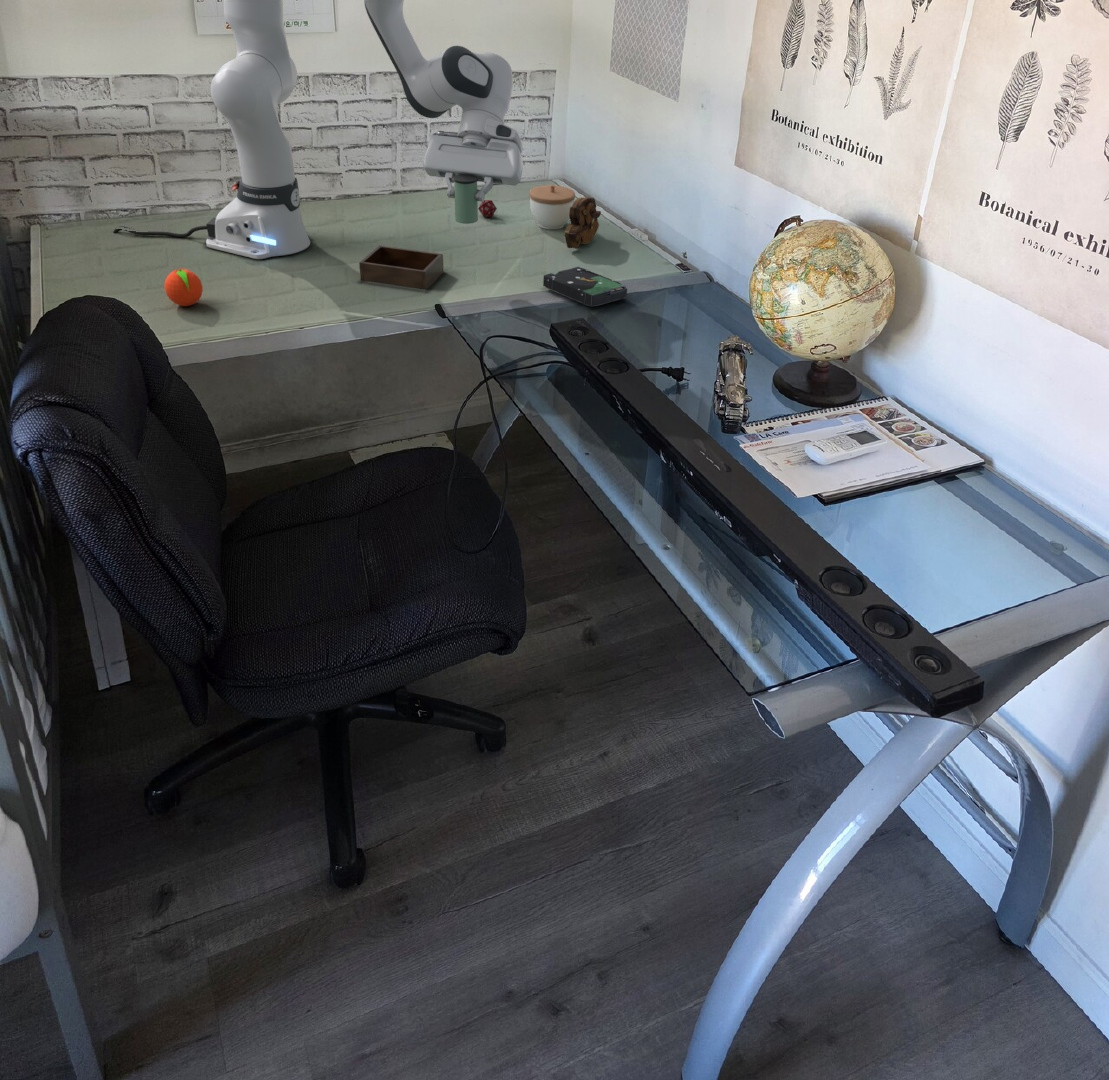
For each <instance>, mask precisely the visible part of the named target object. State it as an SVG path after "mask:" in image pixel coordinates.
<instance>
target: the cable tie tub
mask: <svg viewBox="0 0 1109 1080" xmlns="http://www.w3.org/2000/svg"><path fill="white" fill-rule="evenodd" d="M478 182H479V181H478V178H477V176H475V175H471V174H460V175H456V176H454V183H453V187H454V194H455V198H454V215H455V216H454V220H455V222H456V223H459V224H464V225H470V224H474V223H477V222H478V221H479V212H478V211H479V209H478V208H479V206H478V205H479V204H478V202H479V201H476V199H475V194H476V190H477V189H478Z"/></svg>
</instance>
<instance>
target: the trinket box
mask: <svg viewBox="0 0 1109 1080" xmlns="http://www.w3.org/2000/svg"><path fill="white" fill-rule="evenodd" d="M575 200H576V192H575V191H574V190H573V189H571V188H569V187H566V186H561V185H555V184H549V185H547V184H546V185H539V186H536V187H533V188H531V189H530V190H529V207H530V208H529V209H530V213H531V216H532V218H533V220H534V221H535V223H537V224H538V226H539V227H540V228H541V229H545V230H560V229H562V228H564V226H565V225H566V224H567V223H568V222H569V221H570V218H569V213H570V207H572V205H573V203H574V202H575Z"/></svg>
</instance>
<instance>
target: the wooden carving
mask: <svg viewBox="0 0 1109 1080" xmlns="http://www.w3.org/2000/svg"><path fill="white" fill-rule="evenodd" d="M601 215H602V211H601V210H597V203H596V199H595V198H594V197H589V196H585V197H582V196H581V197H577V198H575V199H574V203H573V205H572V207H570V213H569V218H570V219H569V221H570V224H568V225H567V226H566V228H565V230H564V234H563V235H564V238H565V242H566V248H568V249H578V248H579V246H580V245H587V244H589V243H590V242H591V241H593V239H594V238H595V236H596V234H597V232H598V230H599V226H600V223H599V220H598V219H599V218H600V217H601Z"/></svg>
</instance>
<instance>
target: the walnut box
mask: <svg viewBox="0 0 1109 1080" xmlns="http://www.w3.org/2000/svg"><path fill="white" fill-rule="evenodd" d="M358 264H359V265H358V266H359V275H360V281H361V282H367V283H376V284H381V285H389V286H395V287H403V288H411V289H416V290H423V291H427V290H428V289H429V288H430V287H431V286H432V285H433V283H434V282H435V281H436V280H437V279H438V278H439V277H440V276H441V275H442V274H443V273H444V254H443V253H438V252H430V251H425V250H424V251H423V250H416V249H409V248H401V247H394V246H386V245H381V244H380V245H378V246H377V247H375V248H374V249H373V250H372V251H371V252H370V253H369V254H368V255H366V256H365V257H364V258H363V259H362V260H360V261H359V262H358Z"/></svg>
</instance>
